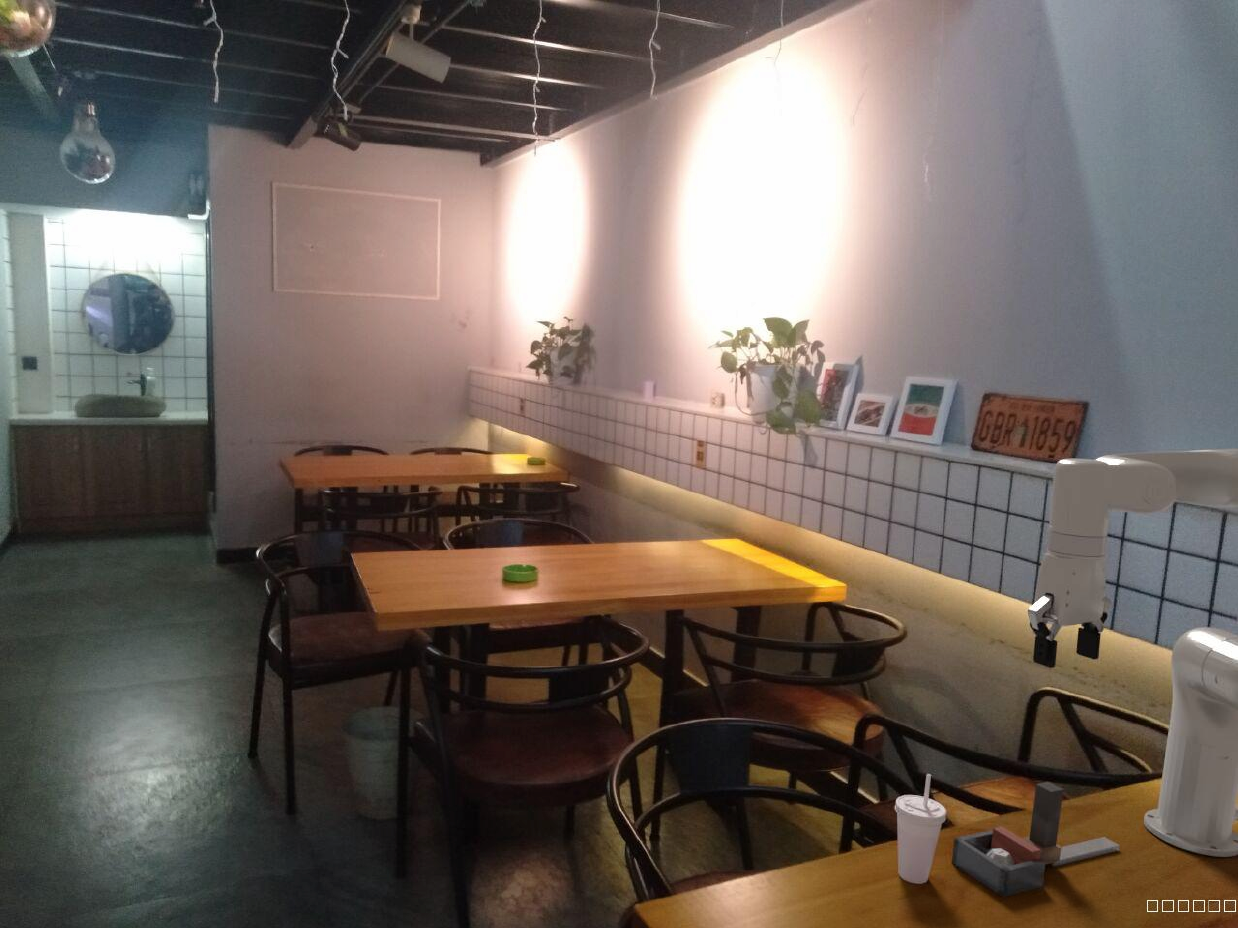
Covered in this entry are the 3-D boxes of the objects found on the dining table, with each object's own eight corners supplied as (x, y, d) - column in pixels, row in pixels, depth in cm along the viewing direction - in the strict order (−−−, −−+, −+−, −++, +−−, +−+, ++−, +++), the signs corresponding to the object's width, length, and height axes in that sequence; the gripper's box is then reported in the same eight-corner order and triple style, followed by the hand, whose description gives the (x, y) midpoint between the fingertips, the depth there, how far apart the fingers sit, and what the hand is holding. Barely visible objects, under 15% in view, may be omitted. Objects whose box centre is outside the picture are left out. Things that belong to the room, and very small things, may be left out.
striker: (1029, 842, 129) (1037, 775, 128) (1068, 866, 124) (1077, 795, 123) (990, 851, 126) (998, 782, 125) (1029, 876, 120) (1038, 803, 119)
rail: (1103, 841, 133) (1104, 836, 133) (1118, 850, 131) (1119, 844, 131) (1038, 857, 127) (1039, 852, 127) (1053, 866, 125) (1054, 860, 125)
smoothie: (941, 893, 117) (954, 788, 115) (889, 884, 118) (901, 780, 116) (934, 867, 123) (946, 767, 121) (885, 858, 124) (896, 760, 123)
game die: (978, 869, 123) (980, 848, 123) (995, 863, 125) (998, 842, 125) (1000, 882, 120) (1003, 861, 120) (1018, 876, 122) (1021, 855, 122)
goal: (990, 853, 128) (993, 829, 127) (1042, 886, 120) (1045, 861, 120) (951, 862, 124) (954, 837, 124) (1002, 897, 117) (1005, 871, 116)
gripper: (1090, 536, 138) (1079, 646, 140) (1013, 543, 130) (1003, 660, 132) (1138, 546, 132) (1126, 661, 134) (1061, 554, 124) (1050, 676, 125)
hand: (1065, 660), depth 133 cm, fingers open, 9 cm apart
